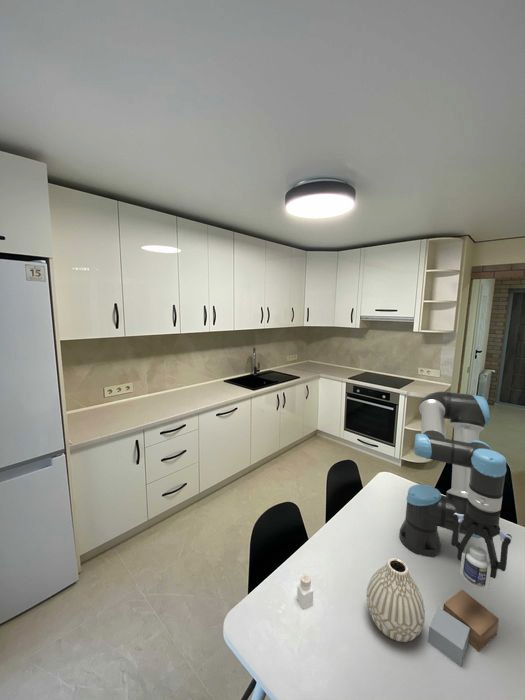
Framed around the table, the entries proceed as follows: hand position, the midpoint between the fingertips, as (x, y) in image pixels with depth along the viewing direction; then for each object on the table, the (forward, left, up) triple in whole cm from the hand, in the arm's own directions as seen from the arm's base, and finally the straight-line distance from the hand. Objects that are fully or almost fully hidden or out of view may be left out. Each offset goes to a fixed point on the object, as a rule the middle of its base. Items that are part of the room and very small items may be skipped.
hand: (474, 577), depth 85 cm
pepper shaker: (-38, -31, -17) cm, 52 cm away
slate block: (-3, -10, -17) cm, 20 cm away
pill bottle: (0, 0, -1) cm, 1 cm away
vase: (-16, -16, -17) cm, 28 cm away
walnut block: (0, 0, -17) cm, 17 cm away
